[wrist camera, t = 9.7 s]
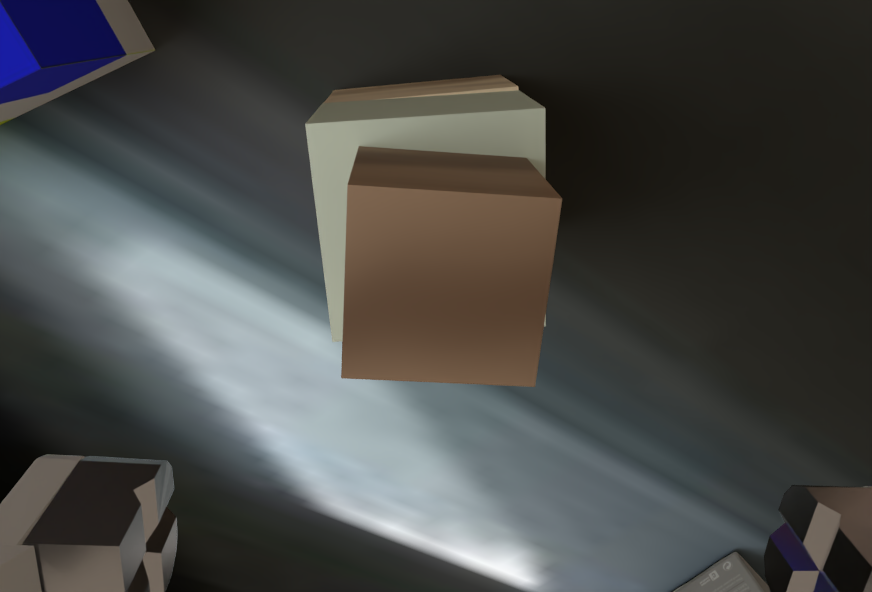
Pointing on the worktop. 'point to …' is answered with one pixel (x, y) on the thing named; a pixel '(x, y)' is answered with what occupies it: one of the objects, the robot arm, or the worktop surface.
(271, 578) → the worktop surface
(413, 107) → the block
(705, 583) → the skincare box
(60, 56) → the puzzle toy
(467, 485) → the worktop surface
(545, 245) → the walnut block
